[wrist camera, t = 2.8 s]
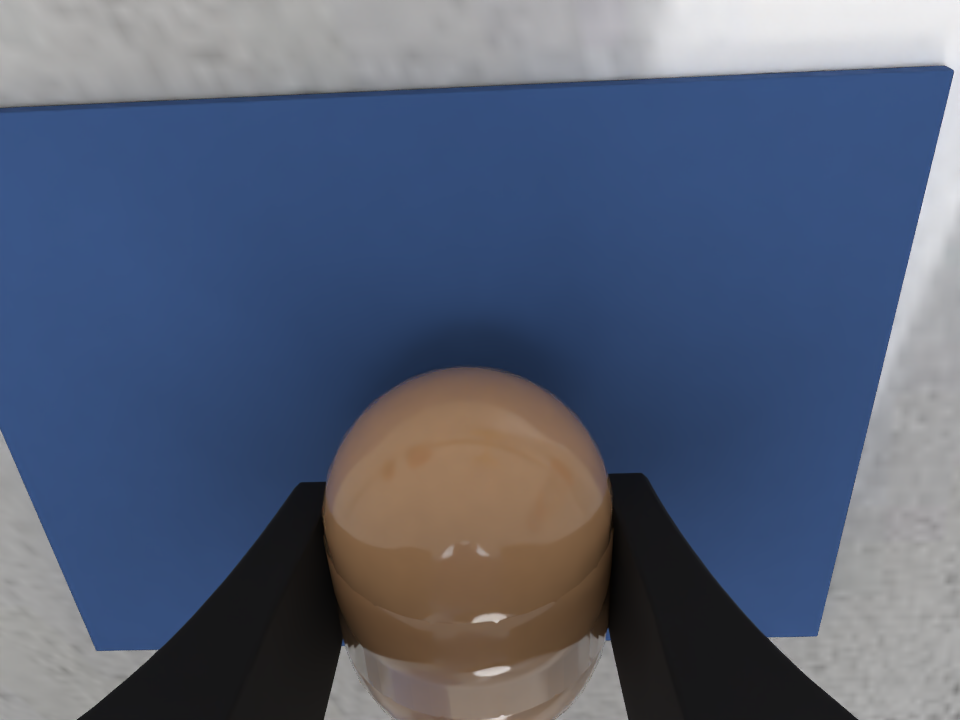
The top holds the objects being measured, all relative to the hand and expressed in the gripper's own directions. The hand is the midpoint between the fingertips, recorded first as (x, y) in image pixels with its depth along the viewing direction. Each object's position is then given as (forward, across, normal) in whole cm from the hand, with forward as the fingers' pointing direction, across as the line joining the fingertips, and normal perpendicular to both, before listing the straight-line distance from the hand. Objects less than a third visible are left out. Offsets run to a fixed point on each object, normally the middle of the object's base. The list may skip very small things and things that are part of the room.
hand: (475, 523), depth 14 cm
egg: (+1, 0, 0) cm, 1 cm away
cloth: (+2, +1, -1) cm, 3 cm away
